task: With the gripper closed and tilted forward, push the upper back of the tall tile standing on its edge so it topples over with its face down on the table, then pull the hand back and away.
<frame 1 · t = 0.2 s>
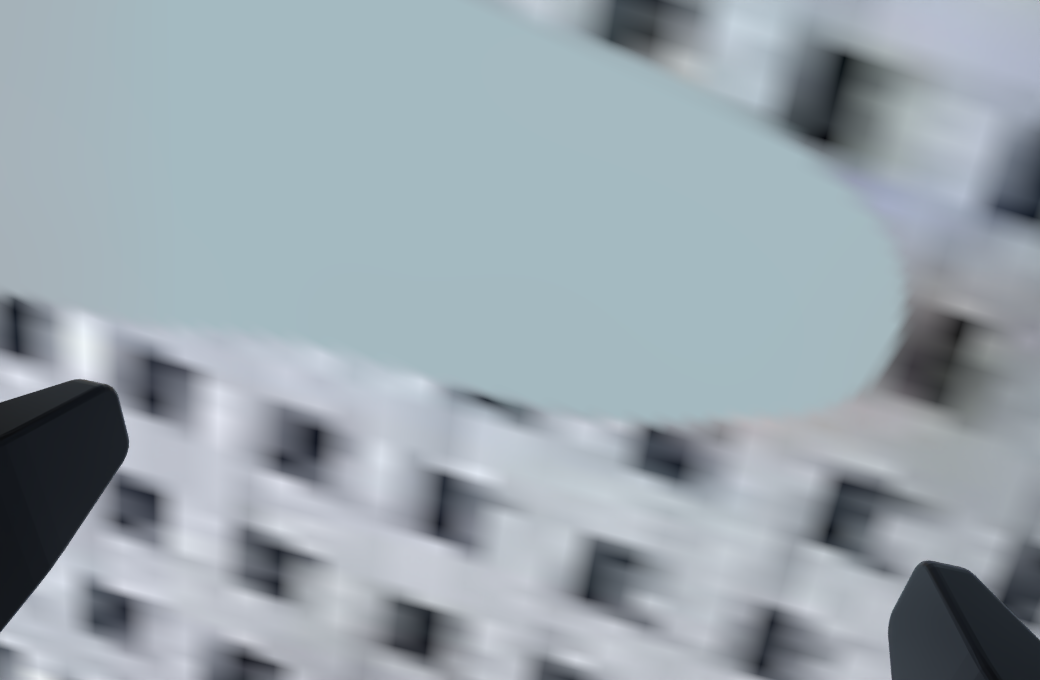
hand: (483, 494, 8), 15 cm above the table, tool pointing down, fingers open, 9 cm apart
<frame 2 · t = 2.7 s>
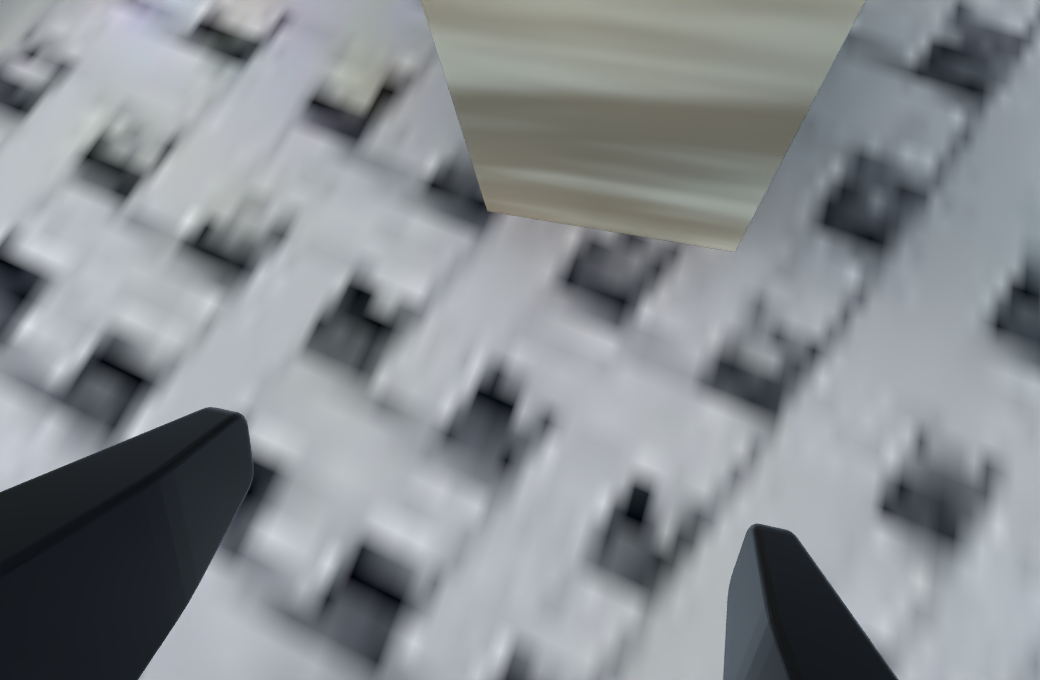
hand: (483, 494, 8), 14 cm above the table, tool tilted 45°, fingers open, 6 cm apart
tile: (616, 188, 24), on the table
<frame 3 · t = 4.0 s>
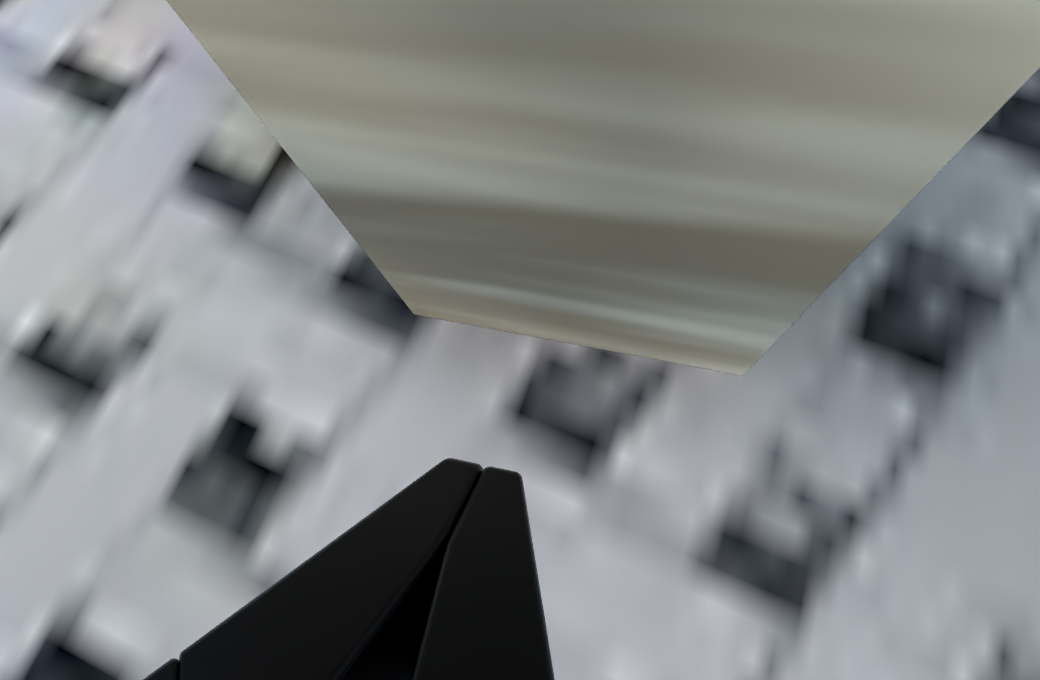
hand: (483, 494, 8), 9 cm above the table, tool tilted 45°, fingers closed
tile: (584, 285, 18), on the table
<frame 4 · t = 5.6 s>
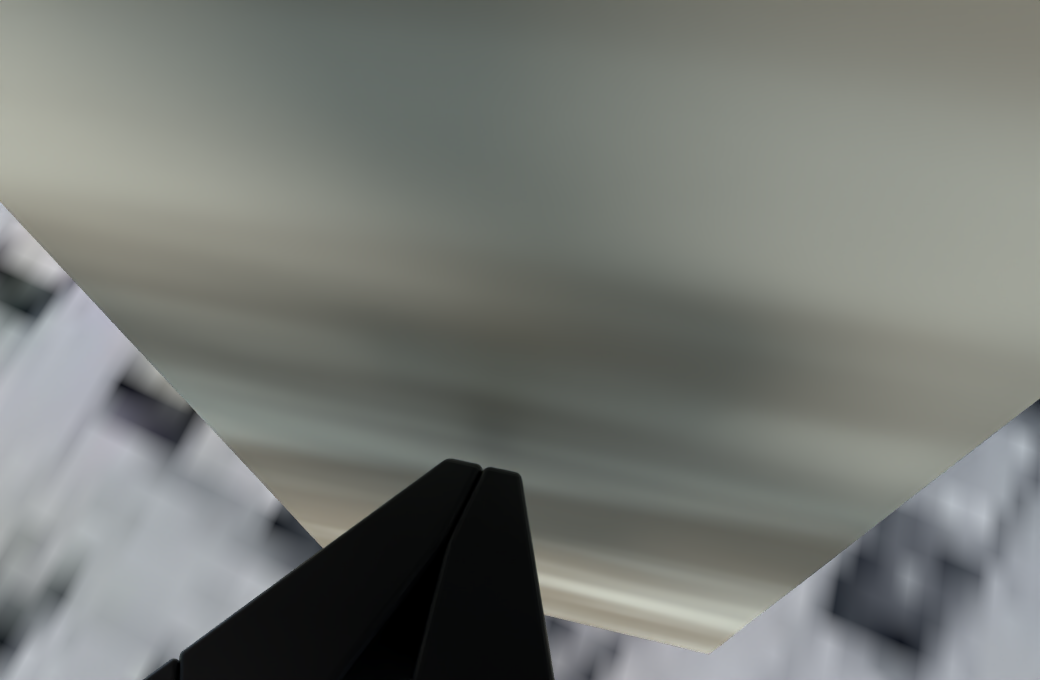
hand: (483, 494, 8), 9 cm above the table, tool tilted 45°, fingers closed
tile: (532, 538, 16), on the table, tilted 16°
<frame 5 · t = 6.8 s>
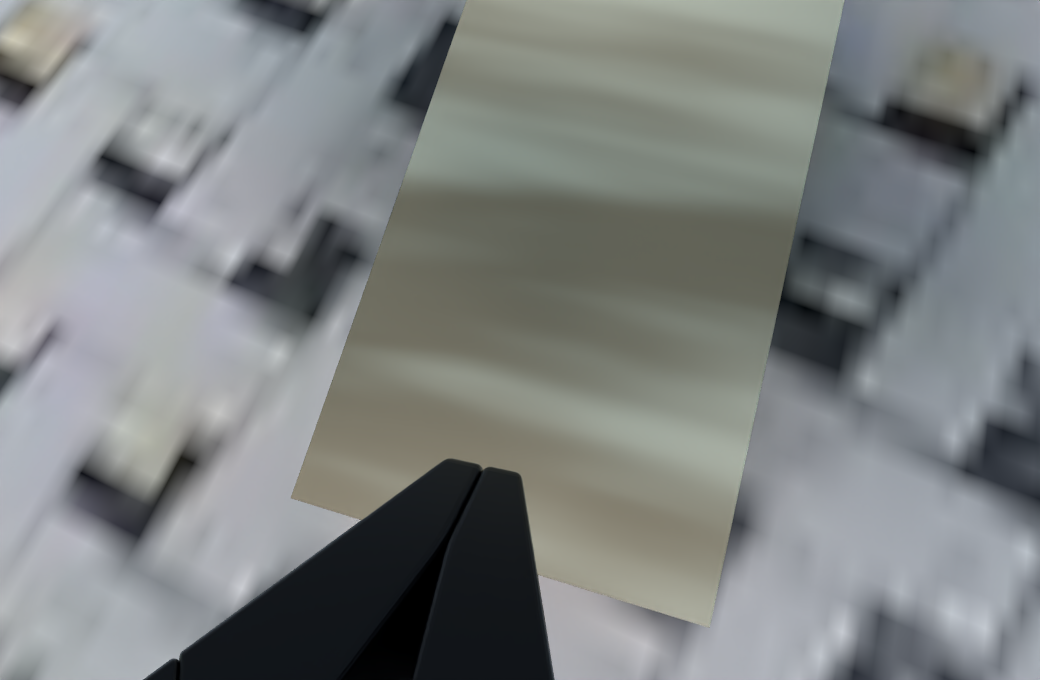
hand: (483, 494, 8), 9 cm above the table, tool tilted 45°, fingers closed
tile: (499, 557, 15), point 1 cm above the table, tilted 90°
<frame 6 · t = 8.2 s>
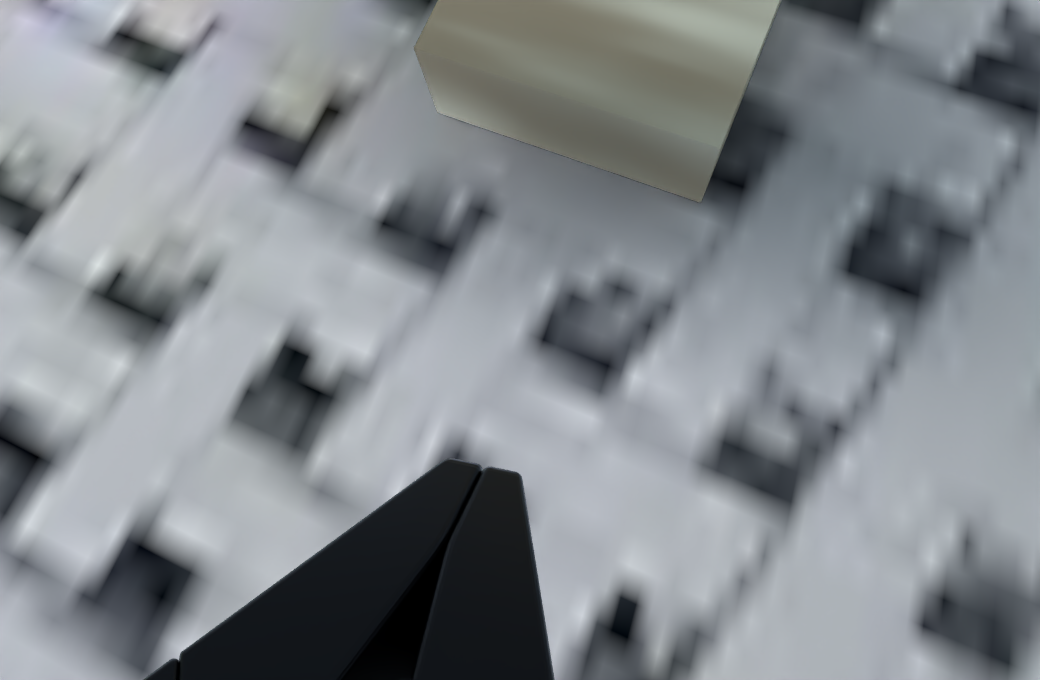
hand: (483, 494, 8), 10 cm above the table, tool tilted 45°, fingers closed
tile: (562, 128, 19), point 1 cm above the table, tilted 90°
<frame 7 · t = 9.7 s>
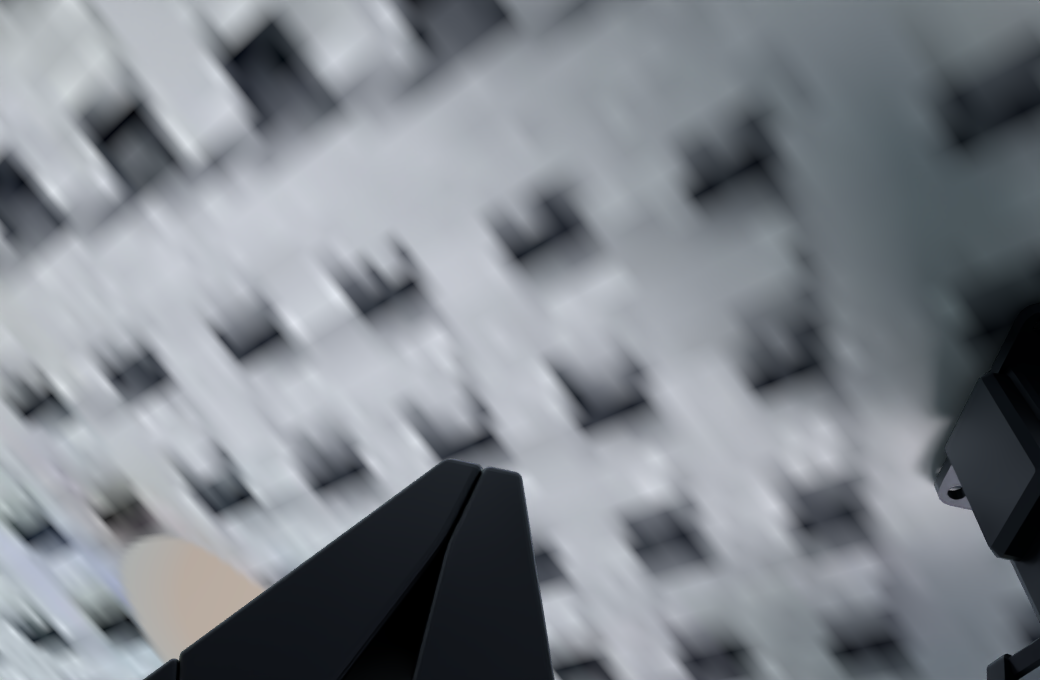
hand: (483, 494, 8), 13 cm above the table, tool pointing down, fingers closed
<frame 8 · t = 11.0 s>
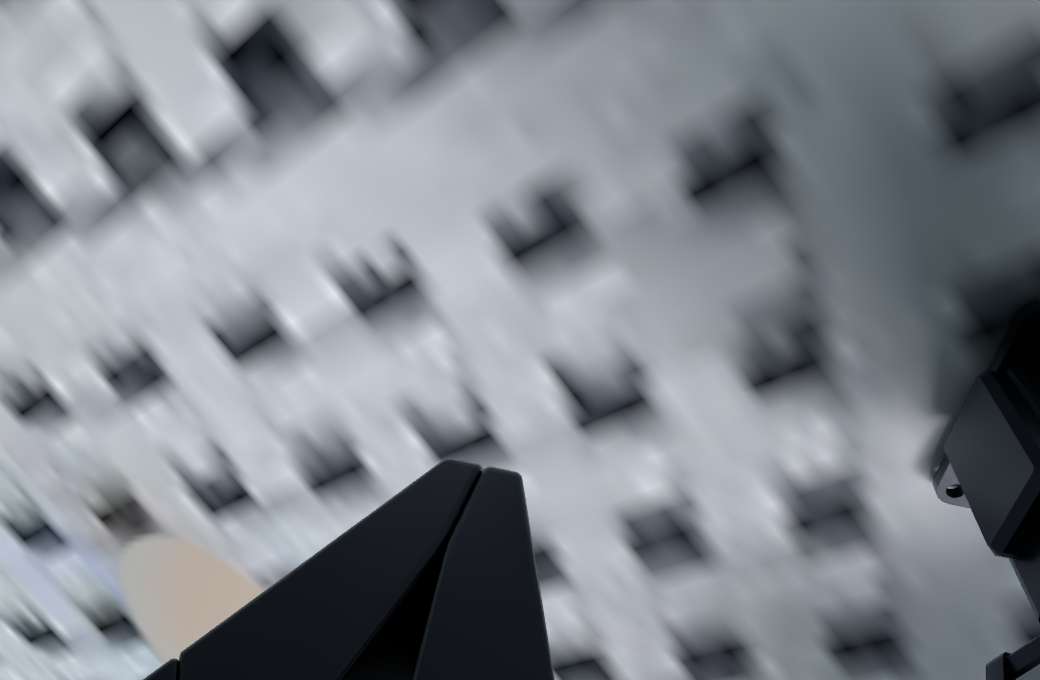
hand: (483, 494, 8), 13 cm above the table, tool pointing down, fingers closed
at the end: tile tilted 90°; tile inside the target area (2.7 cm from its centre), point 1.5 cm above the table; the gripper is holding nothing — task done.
